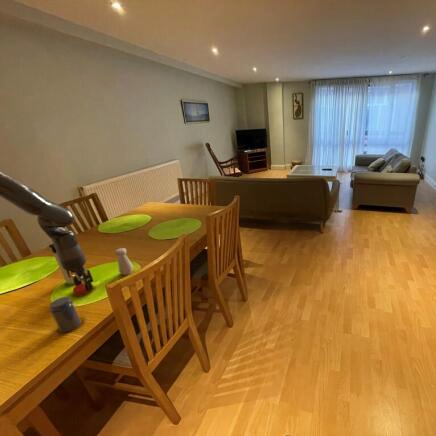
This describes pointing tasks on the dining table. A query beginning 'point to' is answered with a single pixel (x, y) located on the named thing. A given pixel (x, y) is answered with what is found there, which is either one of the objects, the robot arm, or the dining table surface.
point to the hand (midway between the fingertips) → (84, 287)
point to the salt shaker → (123, 262)
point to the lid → (80, 290)
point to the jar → (65, 314)
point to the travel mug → (67, 279)
